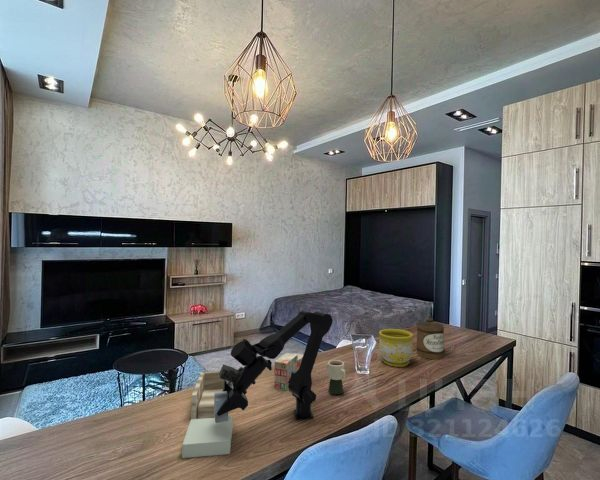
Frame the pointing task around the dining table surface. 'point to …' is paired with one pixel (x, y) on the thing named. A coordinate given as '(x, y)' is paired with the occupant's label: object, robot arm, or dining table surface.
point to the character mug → (336, 376)
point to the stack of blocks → (286, 369)
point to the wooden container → (430, 339)
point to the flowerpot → (395, 347)
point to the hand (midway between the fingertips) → (216, 410)
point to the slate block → (218, 402)
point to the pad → (207, 438)
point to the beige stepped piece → (206, 394)
